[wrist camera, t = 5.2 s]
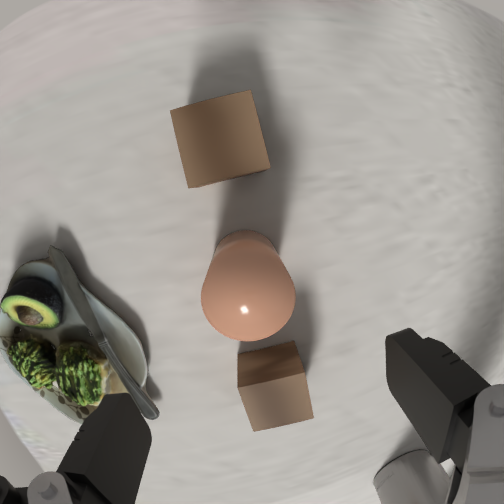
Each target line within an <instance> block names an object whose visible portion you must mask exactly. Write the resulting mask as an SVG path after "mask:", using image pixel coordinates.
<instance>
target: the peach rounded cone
mask: <svg viewBox="0 0 504 504" xmlns="http://www.w3.org/2000/svg"><path fill="white" fill-rule="evenodd" d="M201 304H202V308H203V312H204V314H205V316H206V318H207V320H208V321H209V323H210V324H211V325H212V326H213V327H214V328H215V329H216V330H217V331H218V332H220V333H221V334H223V335H225V336H227V337H229V338H232V339H235V340H240V341H256V340H261V339H264V338H267V337H269V336H271V335H273V334H275V333H276V332H277V331H279V330H280V329H281V328H282V327H283V326H284V325H285V324H286V323H287V321H288V320H289V318H290V317H291V315H292V312H293V309H294V306H295V288H294V284H293V281H292V279H291V277H290V275H289V273H288V271H287V270H286V268H285V266H284V264H283V262H282V261H281V259H280V257H279V255H278V253H277V251H276V250H275V248H274V246H273V245H272V243H271V242H270V241H269V240H268V239H267V238H266V237H265V236H263V235H262V234H260V233H258V232H255V231H251V230H240V231H236V232H233V233H231V234H229V235H227V236H226V237H225V238H223V239H222V240H221V241H220V243H219V244H218V246H217V247H216V249H215V252H214V255H213V258H212V261H211V264H210V266H209V269H208V272H207V275H206V278H205V281H204V284H203V287H202V292H201Z"/></svg>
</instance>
